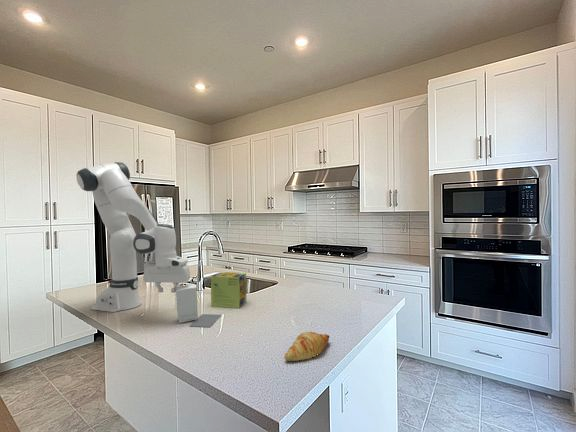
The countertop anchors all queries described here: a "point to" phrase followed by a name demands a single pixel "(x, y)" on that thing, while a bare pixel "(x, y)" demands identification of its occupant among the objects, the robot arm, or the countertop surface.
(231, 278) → the protein box
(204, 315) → the mat
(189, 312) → the skincare box
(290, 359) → the croissant
